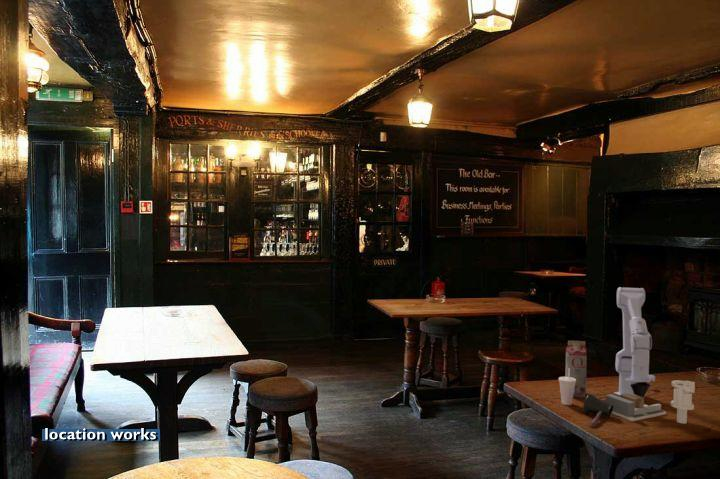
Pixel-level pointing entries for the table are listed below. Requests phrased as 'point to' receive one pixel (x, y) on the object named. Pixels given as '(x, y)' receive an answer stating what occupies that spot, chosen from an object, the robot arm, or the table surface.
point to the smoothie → (567, 388)
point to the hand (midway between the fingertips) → (639, 401)
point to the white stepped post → (683, 399)
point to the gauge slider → (634, 399)
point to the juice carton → (577, 366)
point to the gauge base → (632, 408)
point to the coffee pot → (596, 408)
